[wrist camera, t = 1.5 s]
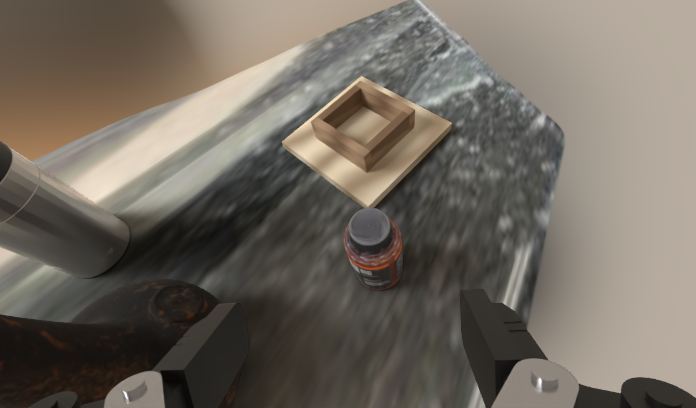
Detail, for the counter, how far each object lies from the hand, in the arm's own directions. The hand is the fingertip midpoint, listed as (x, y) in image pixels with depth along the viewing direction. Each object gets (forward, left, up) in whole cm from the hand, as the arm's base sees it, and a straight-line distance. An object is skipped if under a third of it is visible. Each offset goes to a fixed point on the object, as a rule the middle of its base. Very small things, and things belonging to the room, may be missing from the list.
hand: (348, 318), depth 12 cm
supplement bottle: (-8, +8, -27) cm, 29 cm away
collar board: (-23, +22, -27) cm, 42 cm away
